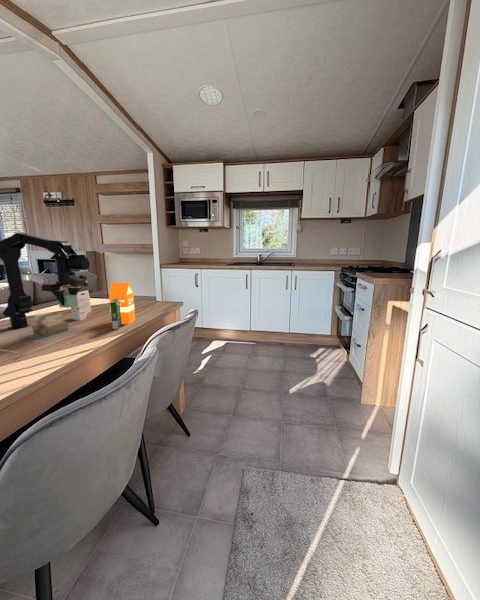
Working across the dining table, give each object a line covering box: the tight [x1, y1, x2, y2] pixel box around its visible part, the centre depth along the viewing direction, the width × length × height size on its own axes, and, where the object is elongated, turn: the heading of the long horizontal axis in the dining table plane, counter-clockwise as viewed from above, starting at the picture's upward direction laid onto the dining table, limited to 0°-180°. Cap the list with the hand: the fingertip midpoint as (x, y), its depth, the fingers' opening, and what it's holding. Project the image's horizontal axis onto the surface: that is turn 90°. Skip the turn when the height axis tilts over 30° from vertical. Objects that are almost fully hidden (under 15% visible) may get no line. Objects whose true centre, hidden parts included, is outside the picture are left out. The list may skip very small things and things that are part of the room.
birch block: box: [34, 311, 65, 327], centre depth 116 cm, size 7×7×4 cm
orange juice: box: [108, 282, 136, 325], centre depth 134 cm, size 8×9×20 cm
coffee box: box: [109, 299, 123, 331], centre depth 125 cm, size 8×3×13 cm, turn 14°
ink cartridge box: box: [70, 290, 93, 321], centre depth 141 cm, size 9×5×15 cm, turn 168°
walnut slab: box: [31, 321, 69, 337], centre depth 117 cm, size 9×9×4 cm
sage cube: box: [58, 293, 78, 309], centre depth 122 cm, size 5×5×5 cm
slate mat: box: [19, 327, 81, 341], centre depth 117 cm, size 16×16×1 cm
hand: (68, 303), depth 122 cm, fingers closed on sage cube, 5 cm apart
